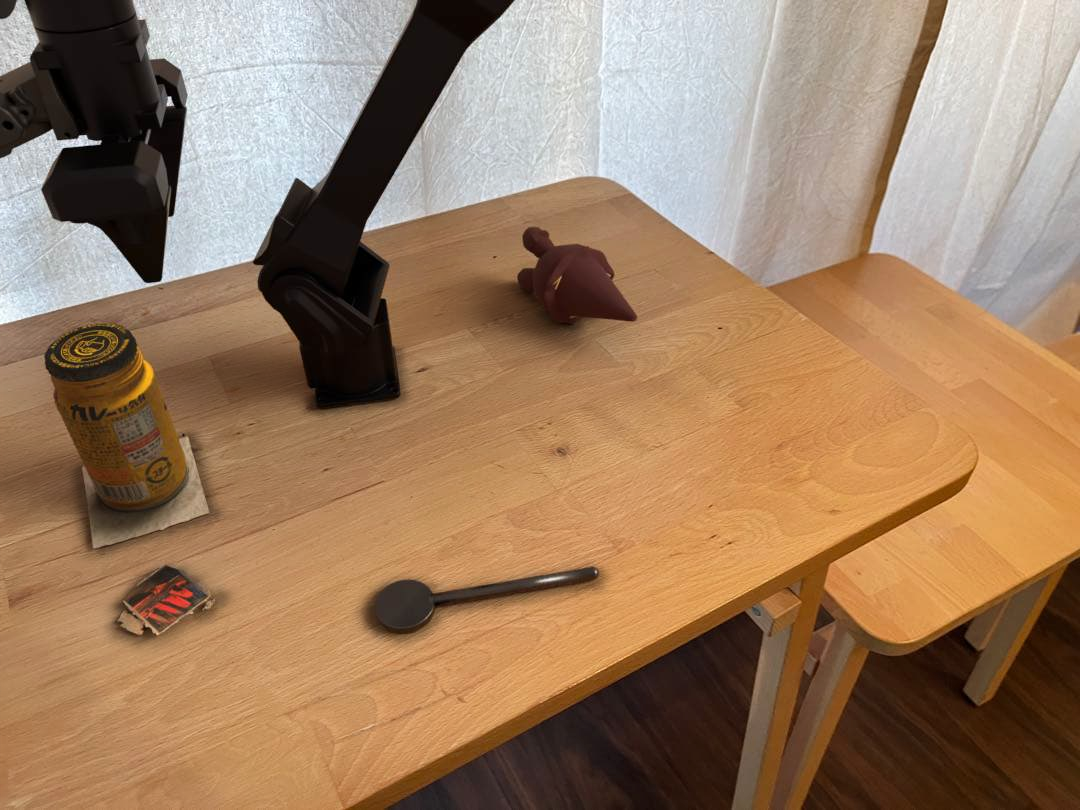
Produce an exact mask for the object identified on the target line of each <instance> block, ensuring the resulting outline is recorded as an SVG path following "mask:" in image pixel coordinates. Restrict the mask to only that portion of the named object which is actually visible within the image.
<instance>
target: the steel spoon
mask: <svg viewBox="0 0 1080 810" xmlns="http://www.w3.org/2000/svg"><path fill="white" fill-rule="evenodd" d="M599 576H600V571H599V569H598V568H597V567H595V566H589V567H588V566H587V567H582V568H576V569H571V570H565V571H560V572H558V571H557V572H553V573H552V572H551V573H547V574H541V575H535V576H529V577H522V578H517V579H510V580H505V581H499V582H494V583H493V582H492V583H486V584H482V585H481V584H480V585H476V586H475V585H474V586H469V587H463V588H457V589H452V590H446V591H439V592H434V593H433V591H432V589H431V587H429V586H428V585H427V584H425V583H423V582H422V581H419V580H415V579H400V580H397V581H394V582H392V583H390V584H388V585H387V586H385V587H384V588H383V589H382V590H381V591H380V592H379V593H378V595H377V597H376V599H375V602H374V612H375V617H376V620H377V622H378V624H379V625H380V626H381V627H382V628H383V629H384V630H386V631H388V632H390V633H394V634H400V635H403V634H412V633H414V632H417V631H420V630H421V629H422V628H424V627H425V626H426V625H427V624H429V623H430V621H431V620H432V619H433V617H434V615H435V612H436V607H442V606H448V605H449V606H450V605H453V604H454V605H455V604H460V603H466V602H472V601H476V600H477V601H478V600H484V599H489V598H494V597H495V598H496V597H501V596H506V595H512V594H519V593H526V592H529V591H530V592H531V591H537V590H542V589H548V588H553V587H559V586H565V585H571V584H577V583H582V582H583V583H584V582H589V581H594V580H595V581H596V580H597V579H598V578H599Z"/></svg>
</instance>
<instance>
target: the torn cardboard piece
mask: <svg viewBox="0 0 1080 810" xmlns="http://www.w3.org/2000/svg"><path fill="white" fill-rule="evenodd" d="M202 584H203V583H199V582H197V581H196V580H195V579H192V578H191V577H190V575H189V574H188V573H187V571H185V570H182V569H180V568H175V567H172V566H170V565H167V564H163V566H161V567H158V568H157V569H156V570H155V571H153V572H152V573H149V575H148V576H146V577H144V578H143V579H142V580H141V581H140V582H139V583H135V584H134V587H133V589H132V591H131V592H130V593H129V595H128V596H126V598H124V599H123V601H122V603H124V604H125V606H126V607H127V608H128V610H129V611H130V612H132V613H128V610H127V609H125V610H123V612H122V613H121V615H120V616H119V618H118V619H117V622H118V623H122V624H119V627H122V628H123V630H125V629H126V631H128V632H131V633H134V634H136V635H139V636H140V635H143V633H144V632H145V630H143V629H144V627H146V628H150V629H151V631H152V633H153V634H156V636H160V634H162V633H166V630H168V629H170V628H171V626H174V625H175V624H177V623H178V622H179V621H180V620H181V619H183V618H184V617H186V616H188V615H193V614H194V610H195V609H196V608H197V607H198V606H200V605H202V604H203V603H205V602H206V603H205V606H204V607H203V608H202V611H204V610H209V609H211V607H212V606H213V605H214V604H215V603H216V601H217V600H218V598H220V595H218V596H214V598H212V599H210V600H208V599H209V598H211V596H212V595H211V591H210V590H209V589H207V588H205V587H204V586H202ZM135 616H136V617H137V618H136V617H135Z"/></svg>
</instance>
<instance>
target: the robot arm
mask: <svg viewBox="0 0 1080 810" xmlns="http://www.w3.org/2000/svg"><path fill="white" fill-rule="evenodd" d="M23 1H24V3H25V4H24V5H25V6H26V10H27V11H28V14H29V18H30V21H31V22H32V25H33V28H34V31H35V33H36V36H37V39H38V42H37V44H36V46H35V47H34V49H33V50H32V52H31V54H30V56H29V62H26V63H24V64H22V65H20V66H18V67H16V68H14V69H12V70H10V71H8V72H5V73H4V74H1V75H0V159H3V158H6V157H7V156H10V155H11V154H12V153H13V150H14V149H16V148H18V147H20V146H22V145H24V144H27V143H29V142H30V141H34V140H35V139H37V138H40V137H41V136H44V135H45V134H47V133H49V132H50V131H53V133H54V136H55V139H56V141H58V142H59V141H69V140H78V139H79V137H81V136H86V138H87V140H88V141H93V142H100V144H89V145H80V146H79V145H78V146H69V147H68V146H67V147H63V148H62V149H61V150H60V152H59V153H58V155H57V157H56V158H55V159H54V160H53V162H52V163H51V166H50V169H49V170H48V173H47V175H46V177H45V180H44V182H43V184H42V186H41V189H40V190H41V193H42V195H43V198H44V200H45V203H46V205H47V208H48V210H49V212H50V216H51V217H52V219H53V220H56V221H58V222H60V223H64V222H65V223H66V222H69V223H72V224H77V225H78V224H79V225H80V224H88V225H91V226H94V227H95V228H98V229H99V230H100V231H101V232H103V234H104V235H105V236H106V237H107V238H108V239H109V240H110V242H112V243H113V245H114V246H115V247H116V248H117V250H118V251H119V252H120V254H121V255H122V256H123V257H124V259H125V260H126V261H127V263H128V264H129V265H130V266H131V268H132V269H133V270H134V271H135V273H136V274H137V275H138V276H139V278H140V279H141V280H142V281H143V282H144V283H145V284H154V283H160V282H162V280H163V274H164V263H165V255H166V243H167V232H168V223H169V218H172V217H174V216H175V212H176V211H175V210H176V203H177V193H178V186H179V185H178V184H179V177H180V171H181V169H180V168H181V163H182V162H181V161H182V154H183V145H184V138H185V129H186V121H187V114H188V107H187V100H188V91H187V87H186V83H185V81H184V77H183V72H182V69H180V68H179V67H178V66H176V65H175V64H173V63H172V62H170V61H169V60H168V59H166V58H150V56H149V52H148V49H147V45H148V42H149V39H150V37H151V35H150V30H149V27H148V24H147V21H146V19H144V18H143V19H139V18H138V14H137V11H136V7H135V4H134V0H23ZM515 1H516V0H416V3H415V5H414V8H413V10H412V12H411V14H410V15H409V17H408V19H407V21H406V24H405V25H404V27H403V28H402V31H401V33H400V35H399V37H398V39H397V41H396V43H395V44H394V46H393V48H392V50H391V52H390V54H389V56H388V57H387V60H386V61H385V63H384V65H383V68H382V69H381V71H380V73H379V75H378V77H377V78H376V80H375V82H374V84H373V86H372V88H371V90H370V92H369V94H368V96H367V97H366V99H365V102H364V103H363V105H362V107H361V109H360V111H359V113H358V115H357V117H356V119H355V120H354V122H353V124H352V127H351V128H350V130H349V132H348V134H347V136H346V137H345V140H344V142H343V144H342V145H341V147H340V149H339V151H338V153H337V155H336V157H335V159H334V161H333V162H332V163H331V166H330V168H329V169H328V171H327V173H326V174H325V176H324V177H323V178H322V179H321V180H320V181H319V182H318V183H316V184H315V186H313V187H310V186H309V185H308V184H307V183H305V182H304V181H303V180H301V179H299V177H295V178H294V180H293V181H292V184H291V186H290V188H289V190H288V192H287V194H286V196H285V198H284V200H283V202H282V203H281V205H280V208H279V210H278V212H277V213H276V215H275V216H274V218H273V220H272V221H271V224H270V226H269V228H268V231H267V232H266V234H265V236H264V237H263V240H262V242H261V244H260V246H259V249H258V250H257V253H256V254H255V257H254V258H253V261H252V264H253V265H254V266H261V268H260V271H259V272H258V276H257V289H258V291H259V292H260V293H261V294H262V297H263V299H264V301H266V303H267V304H268V305H269V306H270V307H271V309H273V310H274V311H276V313H277V312H278V313H279V314H280V315H281V317H282V319H283V320H284V321H285V323H286V324H287V326H288V327H289V329H290V330H291V332H292V334H293V335H294V337H295V338H296V339H297V341H298V347H299V352H300V358H301V362H302V366H303V367H302V368H303V371H304V375H305V379H306V384H307V387H308V388H309V389H310V390H313V389H314V402H315V406H316V408H318V409H327V408H328V409H329V408H334V407H335V408H336V407H342V406H350V405H351V406H352V405H357V404H358V405H359V404H365V403H373V402H380V401H388V400H394V399H398V398H400V397H401V396H402V392H401V391H402V390H401V385H400V377H399V371H398V370H399V369H398V363H397V355H396V348H395V346H394V345H393V338H392V332H391V331H392V330H391V324H390V318H389V310H388V303H387V299H386V298H384V297H383V298H382V295H383V291H384V288H385V284H386V281H387V277H388V275H389V274H388V273H389V269H390V263H389V262H388V261H387V260H385V259H384V258H383V257H382V256H380V255H379V254H378V253H376V252H375V251H374V250H372V249H371V248H370V247H369V246H367V245H366V244H365V243H363V242H362V237H363V234H364V232H365V228H366V226H367V222H368V220H369V218H370V216H371V215H372V213H373V212H374V210H375V208H376V206H377V204H378V203H379V201H380V199H381V198H382V196H383V195H384V192H385V191H386V189H387V187H388V185H390V182H391V180H392V179H393V177H394V175H395V173H396V172H397V169H398V168H399V167H400V165H401V163H402V161H403V159H404V158H405V156H406V154H407V153H408V151H409V149H410V148H411V146H412V144H413V142H414V141H415V139H416V137H417V135H418V134H419V132H420V130H421V128H422V127H423V125H424V123H425V122H426V120H427V119H428V117H429V115H430V114H431V112H432V109H433V108H434V106H435V104H436V103H437V101H438V99H439V98H440V95H441V94H442V92H443V91H444V89H445V87H446V85H447V83H448V82H449V80H450V78H451V77H452V75H453V73H454V71H455V70H456V68H457V66H458V65H459V63H460V61H461V59H462V58H463V56H464V55H465V52H467V50H468V49H469V47H471V45H472V44H473V43H474V42H475V41H476V40H478V39H479V38H480V37H481V36H482V35H483V34H484V33H485V32H486V31H487V30H489V28H490V27H492V26H493V25H494V24H495V23H496V22H497V21H499V19H500V18H501V17H502V16H503V15H504V13H505V12H507V10H508V9H509V8H510V6H511V5H513V3H514V2H515ZM17 2H18V0H0V20H5V19H7V18H9V17H10V16H11V15H12V14H13V12H14V10H15V8H16V6H17ZM169 97H170V99H171V103H172V104H173V105H168V101H169Z"/></svg>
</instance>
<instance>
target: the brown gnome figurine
mask: <svg viewBox="0 0 1080 810" xmlns="http://www.w3.org/2000/svg"><path fill="white" fill-rule="evenodd" d="M521 236H522V237H521V238H522V246H523V247H524V248H525V250H527V251H528V252H529V253H531V254H533V255H534V256H535V257H536V258H537V259H538V260H537V262H536V264H535V267H523V268H522V269H521V270H520V271H519V272H518V273H517V276H516V278H517V283H518V285H519V286H521V287H522V288H523V289H524V290H526V291H527V292H530V293H534V296H535V299H536V301H537V302H538V304H540V305H541V307H543V308H544V309H545V310H546V311H547V312H548V313H549V316H550V318H551V320H553V321H555V322H560V323H565V324H570V325H575V324H577V323H578V322H580V321H581V320H583V319H585V318H589V319H600V320H601V319H602V320H612V321H613V320H614V321H621V322H636V321H638V315H637V314H636V312H635V310H634V309H633V307H632V306H631V305H630V303H629V302H628V301H627V300H626V298H625V297H624V295H623V293H622V292H621V291H620V289H619V288H618V287H617V285H616V284H615V283H614V281H613V279H614V277H615V276H616V274H615V271H614V269H613V268H612V266H611V265H610V263H609V262H608V259H607V256H606V255H605V253H604V252H603V251H602V250H599V249H595V248H592V247H590V246H588V245H584V244H580V243H568V244H560V245H555V244H554V242H553V241H552V240H551V238H550V233H549V231H547V230H546V229H541V228H540V227H539V226H528V227H526V229H525V230H524V231H523V233H522V235H521Z"/></svg>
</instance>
